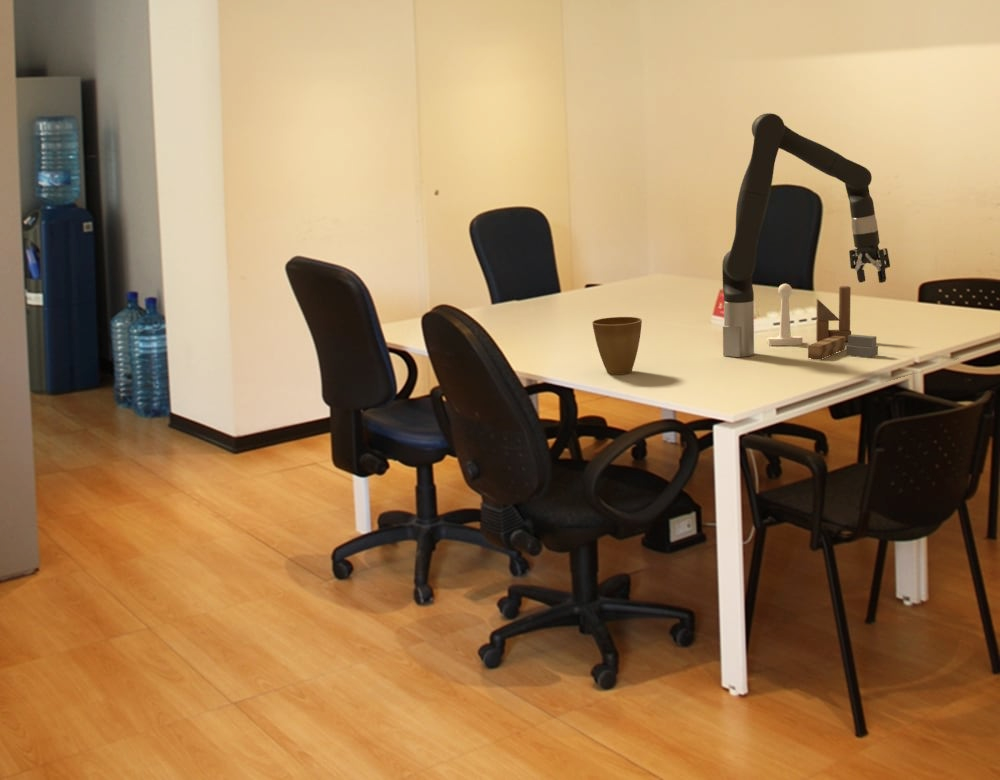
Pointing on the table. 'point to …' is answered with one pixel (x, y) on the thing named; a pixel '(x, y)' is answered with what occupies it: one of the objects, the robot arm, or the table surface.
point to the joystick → (784, 321)
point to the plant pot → (618, 342)
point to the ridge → (862, 346)
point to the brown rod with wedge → (834, 317)
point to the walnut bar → (826, 347)
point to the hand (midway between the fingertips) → (872, 282)
